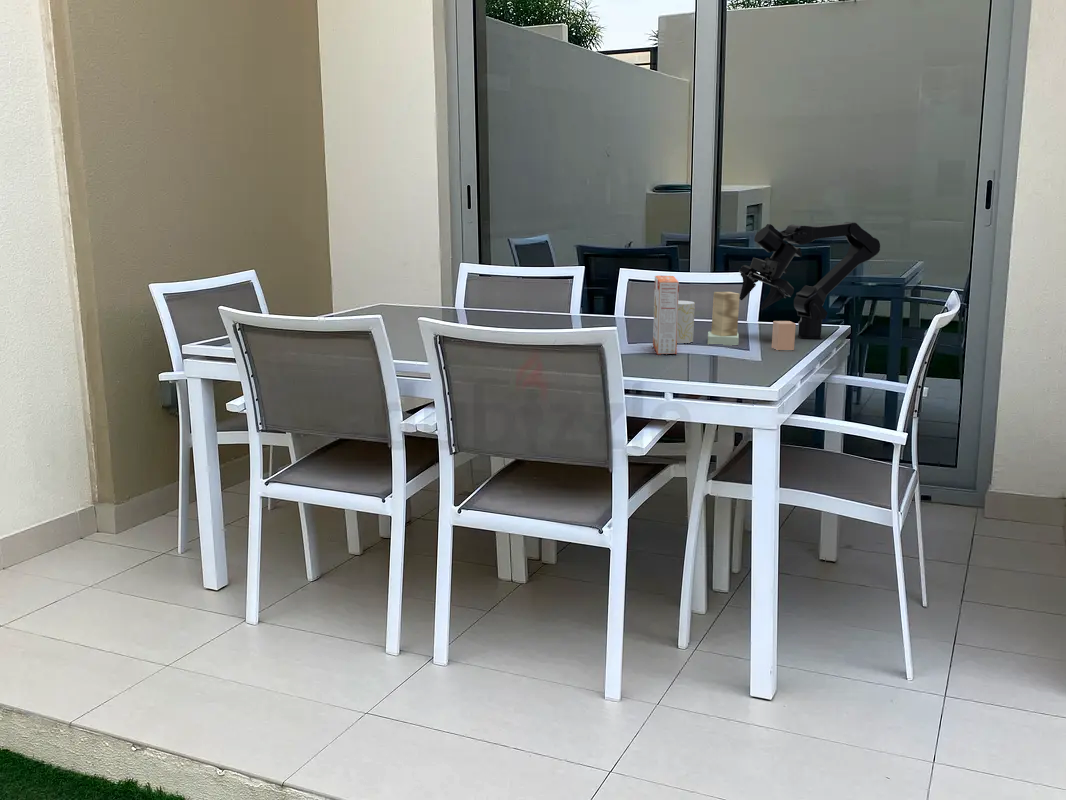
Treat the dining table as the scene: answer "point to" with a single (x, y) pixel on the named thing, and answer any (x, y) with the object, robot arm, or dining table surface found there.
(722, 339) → the sage slab
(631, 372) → the dining table surface
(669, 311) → the cracker box
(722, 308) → the oak block
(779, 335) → the terracotta block
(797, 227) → the robot arm
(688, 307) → the cup
